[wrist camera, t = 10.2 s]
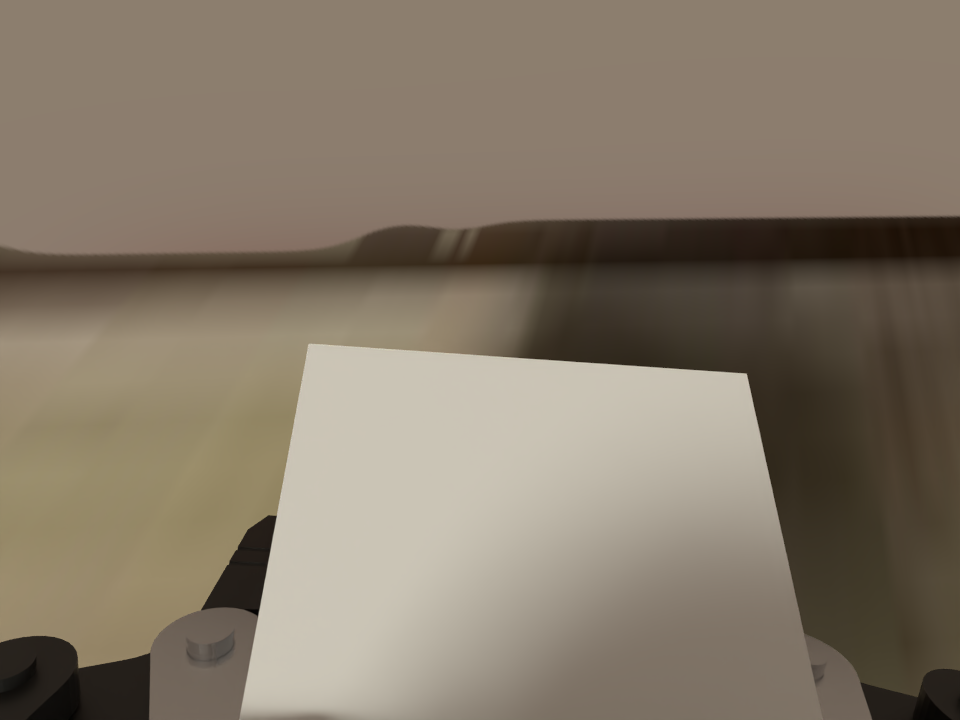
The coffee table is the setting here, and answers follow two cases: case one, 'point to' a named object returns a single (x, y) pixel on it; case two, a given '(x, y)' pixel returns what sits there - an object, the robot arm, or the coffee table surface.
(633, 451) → the block
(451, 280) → the coffee table surface
